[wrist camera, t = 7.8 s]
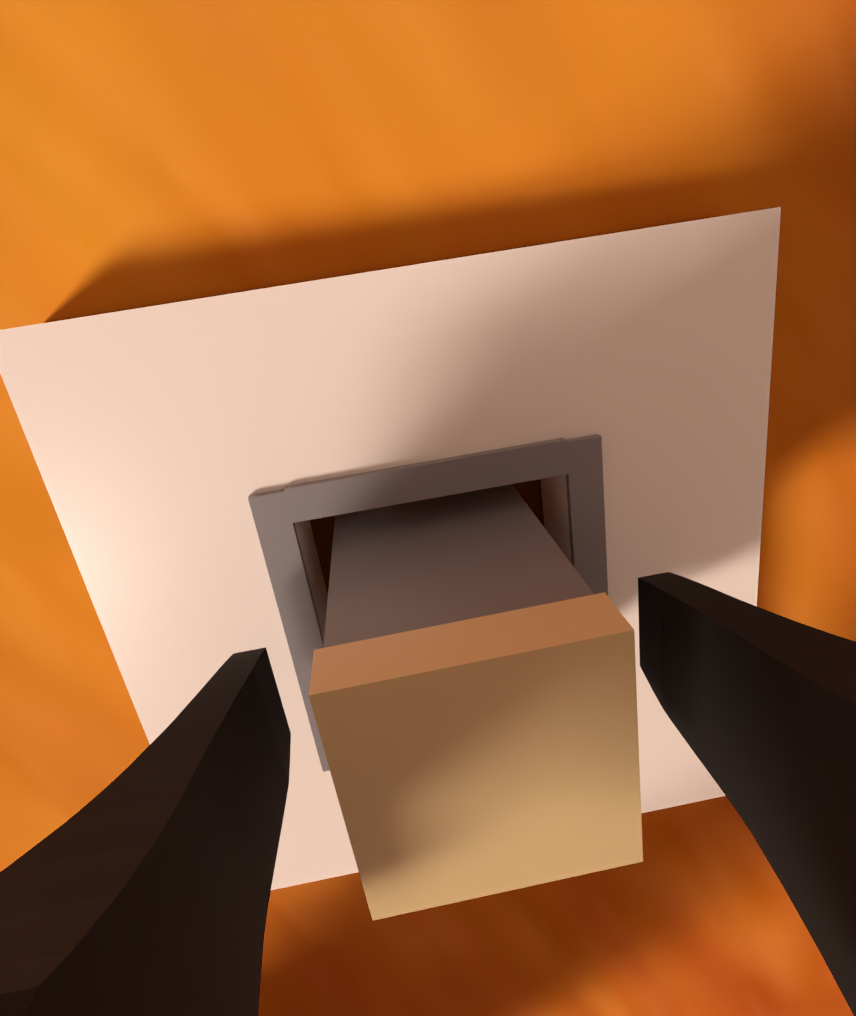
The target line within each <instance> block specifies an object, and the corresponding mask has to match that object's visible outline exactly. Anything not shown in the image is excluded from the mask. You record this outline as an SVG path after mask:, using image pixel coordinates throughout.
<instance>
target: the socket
mask: <svg viewBox="0 0 856 1016" xmlns="http://www.w3.org/2000/svg"><path fill="white" fill-rule="evenodd" d="M780 216H781V207H776V208H770V209H763V210H757V211H751V212H744V213H738V214H732V215H725V216H719V217H713V218H706V219H700V220H694V221H687V222H681V223H675V224H668V225H662V226H656V227H649V228H643V229H637V230H630V231H624V232H618V233H611V234H605V235H599V236H592V237H586V238H580V239H573V240H567V241H561V242H554V243H548V244H542V245H535V246H529V247H523V248H516V249H510V250H504V251H497V252H491V253H485V254H478V255H472V256H466V257H459V258H453V259H447V260H440V261H434V262H428V263H421V264H415V265H409V266H402V267H396V268H390V269H383V270H377V271H371V272H364V273H358V274H352V275H345V276H339V277H333V278H326V279H320V280H314V281H307V282H301V283H295V284H288V285H282V286H276V287H269V288H263V289H257V290H250V291H244V292H238V293H231V294H225V295H219V296H212V297H206V298H200V299H193V300H187V301H181V302H174V303H168V304H162V305H155V306H149V307H143V308H136V309H130V310H124V311H117V312H111V313H105V314H98V315H92V316H86V317H79V318H73V319H67V320H60V321H54V322H48V323H41V324H35V325H29V326H22V327H16V328H10V329H3V330H0V374H1V376H2V379H3V381H4V384H5V386H6V388H7V391H8V393H9V396H10V398H11V401H12V403H13V406H14V408H15V411H16V413H17V416H18V418H19V421H20V423H21V426H22V428H23V431H24V433H25V436H26V438H27V441H28V443H29V446H30V448H31V451H32V453H33V456H34V458H35V461H36V463H37V465H38V468H39V470H40V473H41V475H42V478H43V480H44V483H45V485H46V488H47V490H48V493H49V495H50V498H51V500H52V503H53V505H54V508H55V510H56V513H57V515H58V518H59V520H60V523H61V525H62V528H63V530H64V533H65V535H66V538H67V540H68V543H69V545H70V547H71V550H72V552H73V555H74V557H75V560H76V562H77V565H78V567H79V570H80V572H81V575H82V577H83V580H84V582H85V585H86V587H87V590H88V592H89V595H90V597H91V600H92V602H93V605H94V607H95V610H96V612H97V615H98V617H99V620H100V622H101V624H102V627H103V629H104V632H105V634H106V637H107V639H108V642H109V644H110V647H111V649H112V652H113V654H114V657H115V659H116V662H117V664H118V667H119V669H120V672H121V674H122V677H123V679H124V682H125V684H126V687H127V689H128V692H129V694H130V697H131V699H132V701H133V704H134V706H135V709H136V711H137V714H138V716H139V719H140V721H141V724H142V726H143V729H144V731H145V734H146V736H147V739H148V741H149V744H151V743H152V742H153V741H154V740H155V739H156V738H157V737H158V736H159V735H160V734H161V733H162V732H163V731H164V730H165V729H166V728H167V727H168V726H169V725H170V724H171V723H172V722H173V720H174V719H175V718H176V717H177V716H178V715H179V714H180V713H181V712H182V710H183V709H184V708H185V707H186V706H187V705H188V704H189V703H190V701H191V700H192V699H193V698H194V697H195V696H196V695H197V694H198V692H199V691H200V690H201V689H202V688H203V687H204V686H205V684H206V683H207V682H208V681H209V680H210V679H211V678H212V676H213V675H214V674H215V673H216V672H217V671H218V669H219V668H220V667H221V666H222V665H223V664H224V663H225V662H226V661H227V660H228V658H229V657H230V656H231V655H232V654H233V653H239V652H244V651H249V650H255V649H260V648H265V647H266V650H267V653H268V657H269V660H270V664H271V667H272V671H273V674H274V677H275V681H276V684H277V688H278V691H279V695H280V698H281V702H282V705H283V708H284V712H285V715H286V719H287V722H288V726H289V729H290V732H291V745H290V770H289V786H288V792H287V799H286V805H285V810H284V816H283V822H282V828H281V834H280V840H279V845H278V851H277V857H276V862H275V868H274V874H273V880H272V885H271V890H275V889H280V888H284V887H289V886H294V885H299V884H304V883H308V882H313V881H318V880H323V879H328V878H333V877H337V876H342V875H347V874H352V873H357V872H359V871H358V868H357V864H356V861H355V857H354V854H353V850H352V847H351V843H350V839H349V836H348V832H347V829H346V825H345V822H344V818H343V815H342V811H341V808H340V804H339V801H338V797H337V794H336V790H335V787H334V783H333V780H332V776H331V773H330V769H329V766H328V762H327V758H326V755H325V751H324V748H323V744H322V741H321V737H320V734H319V730H318V727H317V723H316V720H315V716H314V713H313V709H312V706H311V702H310V699H309V688H310V679H311V670H312V662H313V653H314V650H315V649H320V648H323V644H324V633H325V622H326V611H327V600H328V595H327V590H326V586H325V582H324V578H323V573H322V569H321V565H320V561H319V557H318V552H317V548H316V544H315V540H314V536H313V531H312V527H311V523H310V520H312V519H318V518H324V517H329V516H335V515H341V514H346V513H352V512H357V511H363V510H369V509H374V508H380V507H386V506H391V505H397V504H402V503H408V502H414V501H419V500H425V499H431V498H436V497H442V496H447V495H453V494H459V493H464V492H470V491H476V490H481V489H487V488H492V487H498V486H504V485H509V484H515V483H521V482H526V481H532V480H537V479H541V491H542V503H543V515H544V527H545V529H546V530H547V532H548V533H549V534H550V536H551V537H552V538H553V540H554V541H555V542H556V544H557V545H558V546H559V548H560V549H561V550H562V552H563V553H564V555H565V556H566V557H567V559H568V560H569V561H570V563H571V564H572V565H573V567H574V568H575V569H576V571H577V572H578V573H579V575H580V576H581V577H582V579H583V580H584V581H585V583H586V584H587V585H588V587H589V588H590V589H591V591H592V592H593V593H594V594H599V593H604V592H605V593H606V595H607V596H608V597H609V598H610V600H611V601H612V602H613V604H614V605H615V606H616V607H617V609H618V610H619V611H620V612H621V614H622V615H623V616H624V618H625V619H626V620H627V621H628V623H629V624H630V625H631V627H632V628H633V629H634V635H635V661H636V688H637V714H638V740H639V766H640V793H641V813H645V812H650V811H655V810H660V809H665V808H670V807H674V806H679V805H684V804H689V803H694V802H698V801H703V800H708V799H713V798H718V797H723V796H726V795H725V794H724V793H723V791H722V790H721V788H720V787H719V786H718V784H717V783H716V782H715V780H714V779H713V778H712V776H711V775H710V773H709V772H708V771H707V769H706V768H705V767H704V765H703V764H702V763H701V761H700V760H699V758H698V757H697V756H696V754H695V753H694V752H693V750H692V749H691V748H690V746H689V745H688V743H687V742H686V741H685V739H684V738H683V736H682V735H681V734H680V732H679V731H678V730H677V728H676V727H675V725H674V724H673V723H672V721H671V720H670V718H669V717H668V715H667V714H666V713H665V711H664V710H663V708H662V706H661V704H660V703H659V701H658V699H657V697H656V695H655V694H654V692H653V690H652V688H651V686H650V684H649V682H648V681H647V679H646V677H645V675H644V673H643V671H642V669H641V667H640V654H639V609H638V578H639V577H644V576H649V575H655V574H660V573H665V572H670V573H674V574H677V575H680V576H683V577H685V578H688V579H690V580H693V581H696V582H698V583H700V584H703V585H705V586H708V587H710V588H713V589H715V590H718V591H720V592H722V593H725V594H727V595H730V596H732V597H734V598H737V599H739V600H742V601H744V602H747V603H749V604H752V605H754V606H756V607H757V594H758V577H759V561H760V545H761V528H762V512H763V495H764V479H765V462H766V446H767V430H768V413H769V397H770V380H771V364H772V347H773V331H774V315H775V298H776V282H777V265H778V249H779V232H780Z"/></svg>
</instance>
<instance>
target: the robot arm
mask: <svg viewBox="0 0 856 1016" xmlns="http://www.w3.org/2000/svg"><path fill="white" fill-rule="evenodd" d="M638 609H639V654H640V667H641V669H642V671H643V673H644V675H645V677H646V679H647V681H648V682H649V684H650V686H651V688H652V690H653V692H654V694H655V695H656V697H657V699H658V701H659V703H660V704H661V706H662V708H663V710H664V711H665V713H666V714H667V715H668V717H669V718H670V720H671V721H672V723H673V724H674V725H675V727H676V728H677V730H678V731H679V732H680V734H681V735H682V736H683V738H684V739H685V741H686V742H687V743H688V745H689V746H690V748H691V749H692V750H693V752H694V753H695V754H696V756H697V757H698V758H699V760H700V761H701V763H702V764H703V765H704V767H705V768H706V769H707V771H708V772H709V773H710V775H711V776H712V778H713V779H714V780H715V782H716V783H717V784H718V786H719V787H720V788H721V790H722V791H723V793H724V794H725V795H726V797H727V798H728V799H729V801H730V802H731V803H732V805H733V806H734V808H735V809H736V810H737V812H738V813H739V815H740V816H741V818H742V819H743V821H744V822H745V824H746V825H747V827H748V828H749V830H750V831H751V833H752V834H753V836H754V838H755V839H756V841H757V843H758V844H759V846H760V848H761V850H762V851H763V853H764V855H765V856H766V858H767V860H768V861H769V863H770V865H771V866H772V868H773V870H774V871H775V873H776V875H777V877H778V878H779V880H780V882H781V883H782V885H783V887H784V888H785V890H786V892H787V894H788V896H789V897H790V899H791V901H792V903H793V904H794V906H795V908H796V910H797V912H798V913H799V915H800V917H801V919H802V920H803V922H804V924H805V926H806V928H807V929H808V931H809V933H810V935H811V936H812V938H813V940H814V942H815V943H816V945H817V947H818V949H819V951H820V953H821V954H822V956H823V958H824V960H825V962H826V964H827V966H828V968H829V969H830V971H831V973H832V975H833V977H834V979H835V981H836V983H837V985H838V986H839V988H840V990H841V992H842V994H843V996H844V998H845V1000H846V1001H847V1003H848V1005H849V1007H850V1009H851V1011H852V1013H853V1015H854V1016H856V642H855V641H851V640H848V639H845V638H842V637H839V636H836V635H833V634H830V633H827V632H824V631H821V630H818V629H815V628H812V627H810V626H807V625H804V624H801V623H798V622H795V621H793V620H790V619H787V618H785V617H782V616H779V615H777V614H774V613H772V612H769V611H767V610H764V609H761V608H759V607H756V606H754V605H752V604H749V603H747V602H744V601H742V600H739V599H737V598H734V597H732V596H730V595H727V594H725V593H722V592H720V591H718V590H715V589H713V588H710V587H708V586H705V585H703V584H700V583H698V582H696V581H693V580H690V579H688V578H685V577H683V576H680V575H677V574H674V573H670V572H665V573H660V574H655V575H649V576H644V577H639V578H638ZM290 745H291V732H290V729H289V726H288V722H287V719H286V715H285V712H284V708H283V705H282V702H281V698H280V695H279V691H278V688H277V684H276V681H275V677H274V674H273V671H272V667H271V664H270V660H269V657H268V653H267V650H266V647H265V648H260V649H255V650H249V651H244V652H239V653H233V654H232V655H231V656H230V657H229V658H228V660H227V661H226V662H225V663H224V664H223V665H222V666H221V667H220V668H219V669H218V671H217V672H216V673H215V674H214V675H213V676H212V678H211V679H210V680H209V681H208V682H207V683H206V684H205V686H204V687H203V688H202V689H201V690H200V691H199V692H198V694H197V695H196V696H195V697H194V698H193V699H192V700H191V701H190V703H189V704H188V705H187V706H186V707H185V708H184V709H183V710H182V712H181V713H180V714H179V715H178V716H177V717H176V718H175V719H174V720H173V722H172V723H171V724H170V725H169V726H168V727H167V728H166V729H165V730H164V731H163V732H162V733H161V734H160V735H159V736H158V737H157V738H156V739H155V740H154V741H153V742H152V743H151V744H150V745H149V746H148V747H147V748H146V749H145V751H144V752H143V753H142V754H141V755H140V756H139V757H138V758H137V759H136V760H135V761H134V762H133V763H132V764H131V765H130V766H129V767H128V768H127V769H126V770H125V771H124V772H123V773H121V774H120V775H119V776H118V777H117V778H116V779H115V780H114V781H113V782H112V783H111V784H110V785H109V786H107V787H106V788H105V789H104V790H103V791H102V792H101V793H100V794H98V795H97V796H96V797H95V798H94V799H93V800H91V801H90V802H89V803H88V804H87V805H86V806H85V807H83V808H82V809H81V810H80V811H79V812H78V813H76V814H75V815H74V816H73V817H72V818H70V819H69V820H68V821H67V822H66V823H64V824H63V825H62V826H60V827H59V828H58V829H56V830H55V831H54V832H53V833H51V834H50V835H49V836H47V837H46V838H45V839H43V840H42V841H41V842H40V843H38V844H37V845H36V846H34V847H33V848H32V849H30V850H29V851H28V852H27V853H25V854H24V855H23V856H21V857H20V858H19V859H17V860H16V861H15V862H14V863H12V864H11V865H10V866H8V867H7V868H6V869H4V870H3V871H1V872H0V1016H258V1007H259V993H260V980H261V967H262V954H263V941H264V931H265V924H266V916H267V909H268V903H269V897H270V891H271V885H272V880H273V874H274V868H275V862H276V857H277V851H278V845H279V840H280V834H281V828H282V822H283V816H284V810H285V805H286V799H287V792H288V786H289V770H290Z"/></svg>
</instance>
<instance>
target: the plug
mask: <svg viewBox="0 0 856 1016" xmlns="http://www.w3.org/2000/svg"><path fill="white" fill-rule="evenodd" d="M309 699H310V702H311V706H312V709H313V713H314V716H315V720H316V723H317V727H318V730H319V734H320V737H321V741H322V744H323V748H324V751H325V755H326V758H327V762H328V766H329V769H330V773H331V776H332V780H333V783H334V787H335V790H336V794H337V797H338V801H339V804H340V808H341V811H342V815H343V818H344V822H345V825H346V829H347V832H348V836H349V839H350V843H351V847H352V850H353V854H354V857H355V861H356V864H357V868H358V871H359V875H360V878H361V882H362V885H363V889H364V892H365V896H366V899H367V903H368V906H369V910H370V913H371V917H372V920H378V919H382V918H387V917H392V916H396V915H401V914H405V913H410V912H415V911H419V910H424V909H428V908H433V907H437V906H442V905H447V904H451V903H456V902H460V901H465V900H470V899H474V898H479V897H483V896H488V895H492V894H497V893H502V892H506V891H511V890H515V889H520V888H524V887H529V886H534V885H538V884H543V883H547V882H552V881H557V880H561V879H566V878H570V877H575V876H579V875H584V874H589V873H593V872H598V871H602V870H607V869H612V868H616V867H621V866H625V865H630V864H634V863H639V862H643V845H642V819H641V793H640V766H639V740H638V714H637V688H636V661H635V635H634V629H633V628H632V627H631V625H630V624H629V623H628V621H627V620H626V619H625V618H624V616H623V615H622V614H621V612H620V611H619V610H618V609H617V607H616V606H615V605H614V604H613V602H612V601H611V600H610V598H609V597H608V596H607V595H606V593H605V592H604V593H599V594H594V593H593V592H592V591H591V589H590V588H589V587H588V585H587V584H586V583H585V581H584V580H583V579H582V577H581V576H580V575H579V573H578V572H577V571H576V569H575V568H574V567H573V565H572V564H571V563H570V561H569V560H568V559H567V557H566V556H565V555H564V553H563V552H562V550H561V549H560V548H559V546H558V545H557V544H556V542H555V541H554V540H553V538H552V537H551V536H550V534H549V533H548V532H547V530H546V529H545V528H544V526H543V525H542V524H541V522H540V521H539V520H538V518H537V517H536V516H535V514H534V513H533V512H532V510H531V509H530V508H529V506H528V505H527V504H526V502H525V501H524V500H523V498H522V497H521V496H520V494H519V493H518V492H517V490H516V489H515V488H514V486H513V485H512V484H509V485H504V486H498V487H492V488H487V489H481V490H476V491H470V492H464V493H459V494H453V495H447V496H442V497H436V498H431V499H425V500H419V501H414V502H408V503H402V504H397V505H391V506H386V507H380V508H374V509H369V510H363V511H357V512H352V513H346V514H341V515H335V523H334V534H333V545H332V556H331V567H330V578H329V589H328V600H327V611H326V622H325V633H324V644H323V648H320V649H315V650H314V653H313V662H312V670H311V679H310V688H309Z"/></svg>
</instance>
